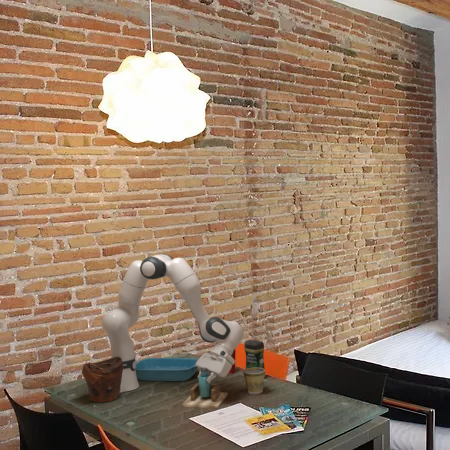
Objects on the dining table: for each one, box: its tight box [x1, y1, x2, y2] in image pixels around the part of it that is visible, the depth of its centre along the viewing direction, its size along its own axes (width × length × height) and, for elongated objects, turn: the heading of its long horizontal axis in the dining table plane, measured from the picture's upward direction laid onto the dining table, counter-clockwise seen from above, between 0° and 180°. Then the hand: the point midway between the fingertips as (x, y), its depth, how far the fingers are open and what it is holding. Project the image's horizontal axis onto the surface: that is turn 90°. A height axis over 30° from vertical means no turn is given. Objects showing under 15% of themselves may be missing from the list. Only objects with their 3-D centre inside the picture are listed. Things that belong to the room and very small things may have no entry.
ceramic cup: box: [242, 368, 266, 395], centre depth 283 cm, size 13×10×10 cm
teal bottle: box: [198, 368, 211, 397], centre depth 272 cm, size 5×5×12 cm
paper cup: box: [227, 347, 237, 375], centre depth 315 cm, size 8×8×14 cm
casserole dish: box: [136, 357, 199, 382], centre depth 314 cm, size 37×22×7 cm, turn 76°
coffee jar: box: [243, 339, 266, 378], centre depth 304 cm, size 10×8×19 cm
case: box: [81, 357, 123, 403], centre depth 282 cm, size 18×20×18 cm
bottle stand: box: [181, 382, 229, 409], centre depth 272 cm, size 16×18×6 cm
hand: (203, 380), depth 272 cm, fingers closed on teal bottle, 5 cm apart
